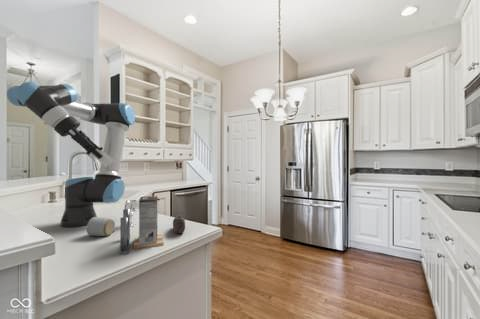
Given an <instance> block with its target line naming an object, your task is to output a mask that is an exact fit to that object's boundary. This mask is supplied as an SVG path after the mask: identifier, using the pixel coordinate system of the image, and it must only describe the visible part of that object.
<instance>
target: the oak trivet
mask: <svg viewBox="0 0 480 319" xmlns="http://www.w3.org/2000/svg"><path fill="white" fill-rule="evenodd" d="M163 239H164V238H163V236H162V234H157V243H148V244H139V236H138V237H134V243H133V245H134V246H133V249H134V250H137V249H145V248H152V247H157V246H164V245H165V244H164V240H163Z"/></svg>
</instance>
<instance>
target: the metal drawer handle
mask: <svg viewBox="0 0 480 319" xmlns="http://www.w3.org/2000/svg"><path fill="white" fill-rule="evenodd" d="M122 211H123V212H122V217H120V221H119V222H120V239H119V240H120V241H119V243H120V246H119V247H120V248H119V249H120V250H119V251H120V252H119V255H120V256H122V255H128V254H129V251H130V250H129V249H130V242H131V241H130V240H131V235H130V234H131V227H130V222H131V219H130V209H125V208H124V209H123V210H122Z"/></svg>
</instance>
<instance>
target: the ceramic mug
mask: <svg viewBox="0 0 480 319" xmlns="http://www.w3.org/2000/svg"><path fill="white" fill-rule="evenodd" d="M115 231H116V222H115V220H114V219H112V218H108V217H107V218H106V217H101V216H99V217H98V216H97V217H93V218H92V219H90V221H89V222H88V224H87V225H86V233H87V235H88V236H91V237H109V236H111V234H113V232H115Z"/></svg>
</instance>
